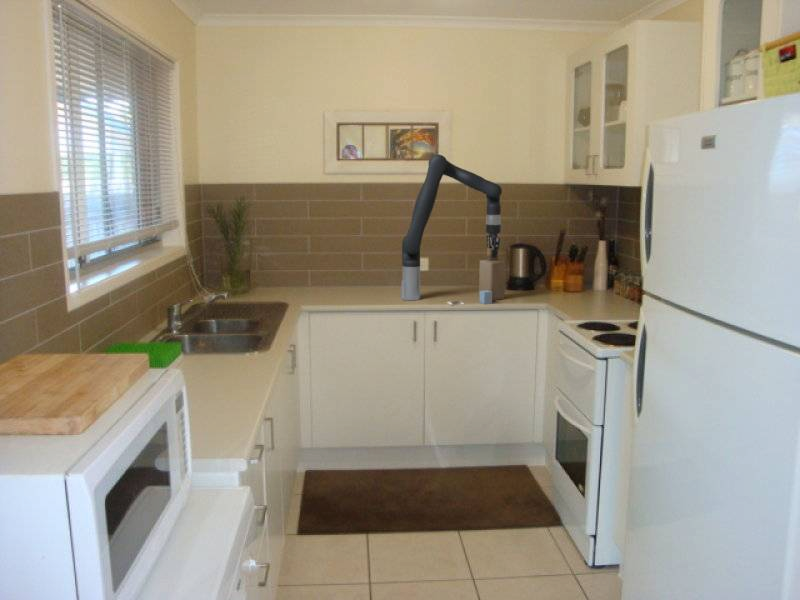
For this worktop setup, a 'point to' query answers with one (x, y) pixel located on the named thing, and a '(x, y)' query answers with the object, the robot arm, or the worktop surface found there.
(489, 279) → the wooden block
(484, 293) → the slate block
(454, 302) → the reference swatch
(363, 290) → the worktop surface
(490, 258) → the walnut block
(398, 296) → the worktop surface
